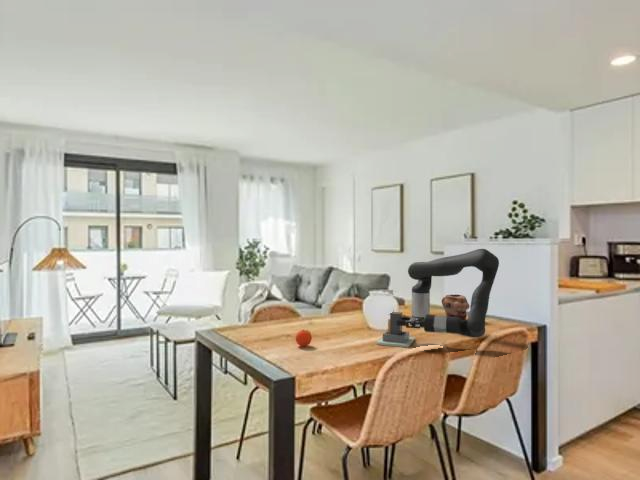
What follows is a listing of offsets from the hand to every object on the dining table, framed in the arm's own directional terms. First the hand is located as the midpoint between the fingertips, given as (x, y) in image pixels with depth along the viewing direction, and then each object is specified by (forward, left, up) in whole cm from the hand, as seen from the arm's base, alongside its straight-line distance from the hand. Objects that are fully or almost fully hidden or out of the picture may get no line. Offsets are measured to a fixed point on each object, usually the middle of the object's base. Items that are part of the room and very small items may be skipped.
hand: (398, 320), depth 203 cm
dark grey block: (0, -1, -8) cm, 9 cm away
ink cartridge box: (-67, -22, -10) cm, 71 cm away
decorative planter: (-65, +18, -10) cm, 68 cm away
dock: (0, -1, -9) cm, 10 cm away
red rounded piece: (+22, -36, -10) cm, 43 cm away
